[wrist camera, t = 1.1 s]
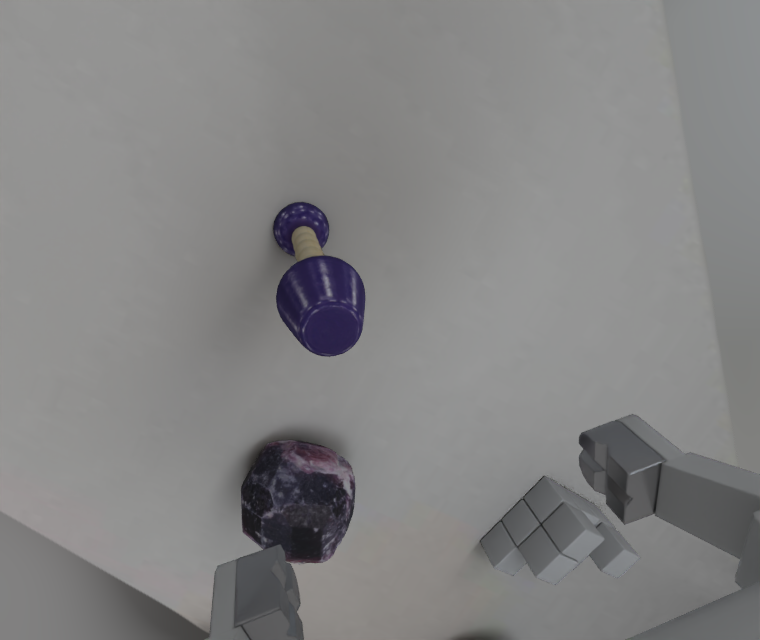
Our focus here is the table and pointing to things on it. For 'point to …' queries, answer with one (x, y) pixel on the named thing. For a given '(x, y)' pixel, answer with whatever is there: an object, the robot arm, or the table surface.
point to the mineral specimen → (298, 500)
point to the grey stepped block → (556, 536)
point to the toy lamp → (317, 285)
